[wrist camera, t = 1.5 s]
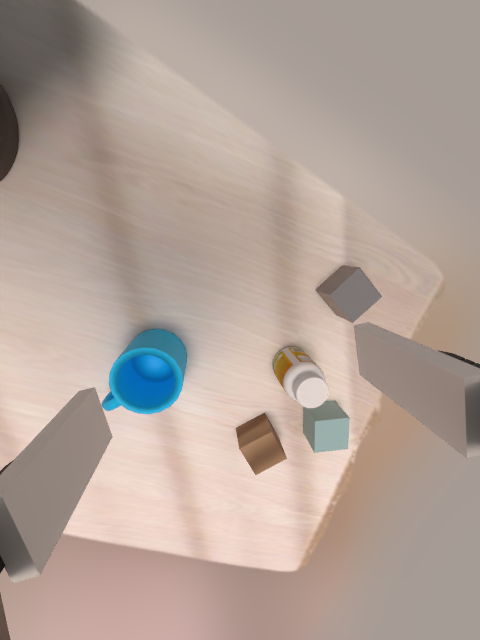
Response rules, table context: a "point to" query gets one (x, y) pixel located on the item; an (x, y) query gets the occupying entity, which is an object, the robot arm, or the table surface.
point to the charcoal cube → (349, 292)
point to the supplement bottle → (300, 377)
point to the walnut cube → (260, 444)
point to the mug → (148, 373)
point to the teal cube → (326, 427)
